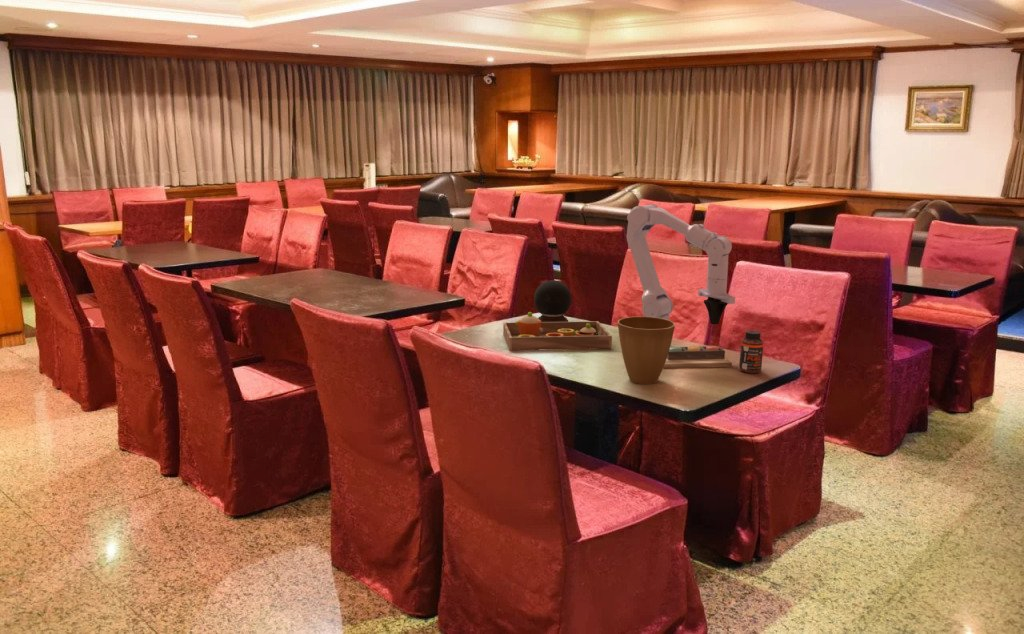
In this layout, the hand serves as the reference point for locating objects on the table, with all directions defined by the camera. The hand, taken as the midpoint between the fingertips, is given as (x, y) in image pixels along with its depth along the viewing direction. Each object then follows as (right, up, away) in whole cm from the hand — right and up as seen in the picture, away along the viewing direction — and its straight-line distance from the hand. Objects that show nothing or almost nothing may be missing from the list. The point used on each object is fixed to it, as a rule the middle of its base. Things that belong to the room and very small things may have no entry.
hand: (714, 323), depth 248 cm
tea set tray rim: (-46, -6, +19) cm, 50 cm away
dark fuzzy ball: (-46, 0, +47) cm, 65 cm away
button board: (-8, -11, -4) cm, 14 cm away
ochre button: (-7, -9, -4) cm, 12 cm away
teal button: (-12, -9, -4) cm, 16 cm away
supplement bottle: (+7, -13, -14) cm, 20 cm away
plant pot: (-25, -15, -24) cm, 37 cm away
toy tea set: (-47, -7, +17) cm, 50 cm away
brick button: (-2, -9, -3) cm, 10 cm away
